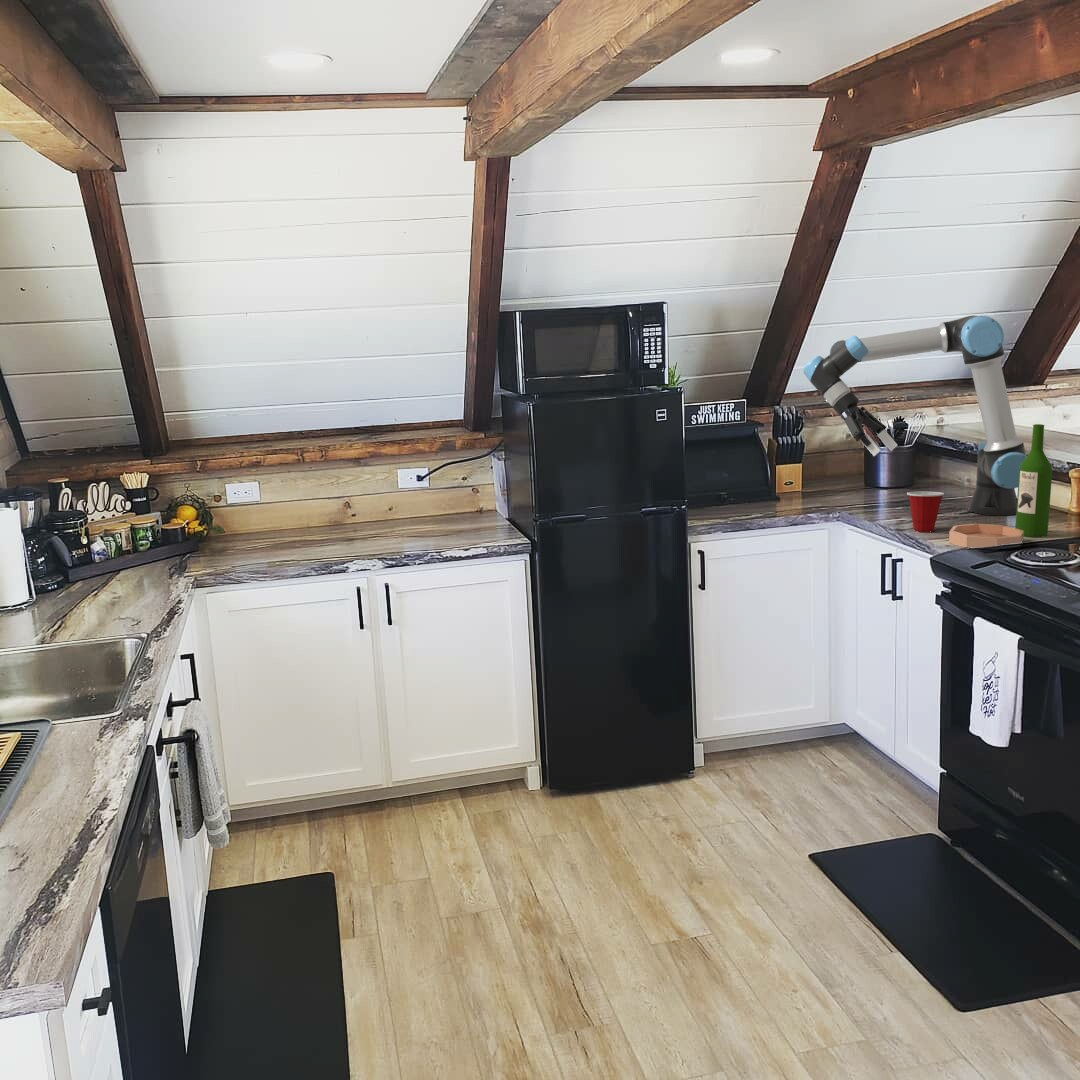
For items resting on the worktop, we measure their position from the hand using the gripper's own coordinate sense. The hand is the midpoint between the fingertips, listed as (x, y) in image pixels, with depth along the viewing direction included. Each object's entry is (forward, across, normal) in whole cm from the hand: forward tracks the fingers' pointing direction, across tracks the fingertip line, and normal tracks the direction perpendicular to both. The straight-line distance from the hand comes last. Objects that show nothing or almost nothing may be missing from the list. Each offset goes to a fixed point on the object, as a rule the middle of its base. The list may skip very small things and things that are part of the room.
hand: (886, 450), depth 344 cm
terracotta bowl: (+40, +7, +7) cm, 41 cm away
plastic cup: (+26, 0, -8) cm, 27 cm away
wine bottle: (+46, -11, +12) cm, 49 cm away
